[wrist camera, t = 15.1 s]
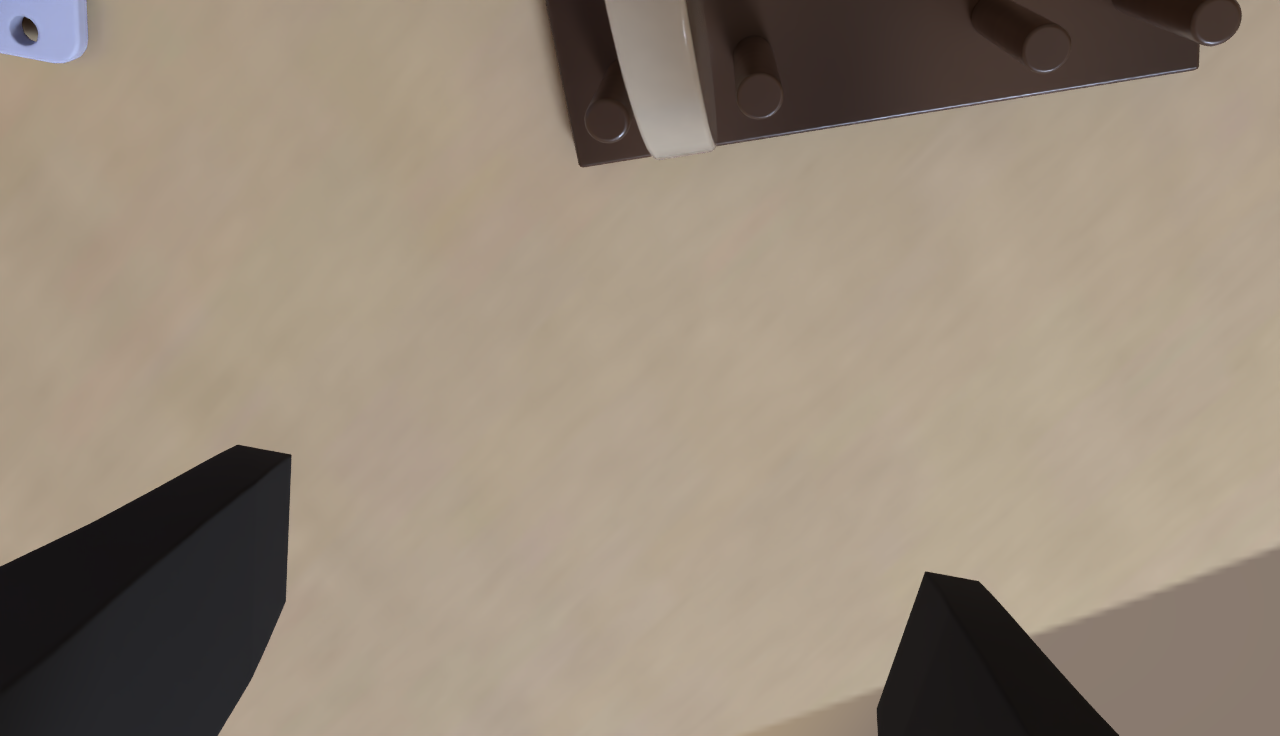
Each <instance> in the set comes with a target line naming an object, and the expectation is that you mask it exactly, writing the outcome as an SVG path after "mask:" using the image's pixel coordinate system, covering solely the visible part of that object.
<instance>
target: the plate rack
mask: <svg viewBox="0 0 1280 736" xmlns="http://www.w3.org/2000/svg"><path fill="white" fill-rule="evenodd" d="M545 1H546V6H547V11H548V16H549V21H550V26H551V31H552V35H553V40H554V45H555V50H556V55H557V60H558V65H559V70H560V75H561V80H562V85H563V89H564V94H565V99H566V104H567V109H568V114H569V119H570V124H571V129H572V134H573V139H574V143H575V148H576V153H577V158H578V163H579V165H580V167H589V166H595V165H602V164H608V163H614V162H620V161H627V160H633V159H639V158H646V157H652V156H651V154H650V153H649V151H648V149H647V148H646V146H645V144H644V142H643V139H642V137H641V135H640V132H639V129H638V127H637V124H636V121H635V118H634V115H633V112H632V108H631V105H630V102H629V98H628V95H627V91H626V88H625V84H624V80H623V76H622V73H621V69H620V65H619V61H618V57H617V53H616V49H615V44H614V40H613V36H612V32H611V28H610V23H609V19H608V14H607V10H606V5H605V1H604V0H545ZM703 1H704V9H705V17H706V25H707V33H708V41H709V50H710V59H711V68H712V77H713V86H714V97H715V108H716V121H717V145H716V146H721V145H727V144H734V143H740V142H746V141H752V140H759V139H765V138H771V137H778V136H784V135H790V134H796V133H803V132H809V131H815V130H822V129H828V128H834V127H840V126H847V125H853V124H859V123H866V122H872V121H878V120H884V119H891V118H897V117H903V116H910V115H916V114H922V113H928V112H935V111H941V110H947V109H954V108H960V107H966V106H972V105H979V104H985V103H991V102H998V101H1004V100H1010V99H1016V98H1023V97H1029V96H1035V95H1042V94H1048V93H1054V92H1060V91H1067V90H1073V89H1079V88H1086V87H1092V86H1098V85H1104V84H1111V83H1117V82H1123V81H1130V80H1136V79H1142V78H1148V77H1155V76H1161V75H1167V74H1174V73H1180V72H1186V71H1192V70H1196V69H1198V67H1199V48H1200V44H1201V45H1204V46H1215V45H1219V44H1222V43H1224V42H1225V41H1227V40H1228V39H1230V38H1231V37H1232V36H1233V35H1234V34H1235V33H1236V31H1237V30H1238V28H1239V26H1240V23H1241V17H1242V12H1241V8H1240V5H1239V3H1238V2H1237V1H1236V0H703Z"/></svg>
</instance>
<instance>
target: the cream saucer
mask: <svg viewBox="0 0 1280 736" xmlns="http://www.w3.org/2000/svg"><path fill="white" fill-rule="evenodd" d="M604 1H605V5H606V10H607V14H608V19H609V23H610V28H611V32H612V36H613V40H614V44H615V49H616V53H617V57H618V61H619V65H620V69H621V73H622V76H623V80H624V84H625V88H626V91H627V95H628V98H629V102H630V105H631V108H632V112H633V115H634V118H635V121H636V124H637V127H638V129H639V132H640V135H641V137H642V139H643V142H644V144H645V146H646V148H647V149H648V151H649V153H650V154H651V156H652V157H653V158H655V159H657V160H663V159H669V158H675V157H682V156H688V155H694V154H701V153H707V152H711V151H713V150H715V148H716V145H717V121H716V108H715V97H714V86H713V77H712V68H711V59H710V50H709V41H708V33H707V25H706V17H705V9H704V1H703V0H604Z"/></svg>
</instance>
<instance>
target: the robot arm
mask: <svg viewBox="0 0 1280 736" xmlns="http://www.w3.org/2000/svg"><path fill="white" fill-rule="evenodd" d="M24 17H27V18H29V19H31V21H32V22H33V23H34V24H35V25H36V27H37V30H38V39H37V41H36V42H35V41H33V40H31V39H29V38H28V36H27V35H26V34H25V33H24V30H23V27H22V21H23V18H24ZM87 43H88V22H87V0H0V53H3V54H8V55H14V56H19V57H24V58H29V59H35V60H40V61H45V62H51V63H66V62H69V61H72V60H74V59H76V58H78V57H80V56H82V54H83V53H84V51H85V50H86V49H87ZM290 479H291V455H290V454H285V453H280V452H274V451H269V450H263V449H258V448H252V447H247V446H242V445H236V446H234V447H232V448H230V449H228V450H226V451H224V452H222V453H220V454H218V455H216V456H214V457H212V458H210V459H209V460H207V461H205V462H203V463H201V464H199V465H198V466H196V467H194V468H192V469H190V470H189V471H187V472H185V473H183V474H181V475H180V476H178V477H176V478H174V479H172V480H170V481H169V482H167V483H165V484H163V485H161V486H160V487H158V488H156V489H154V490H152V491H150V492H149V493H147V494H145V495H143V496H141V497H139V498H137V499H136V500H134V501H132V502H130V503H128V504H126V505H124V506H122V507H121V508H119V509H117V510H115V511H113V512H111V513H109V514H107V515H106V516H104V517H102V518H100V519H98V520H96V521H94V522H92V523H90V524H88V525H86V526H84V527H82V528H80V529H78V530H76V531H74V532H72V533H70V534H68V535H65V536H63V537H61V538H59V539H57V540H55V541H53V542H51V543H49V544H47V545H45V546H43V547H40V548H38V549H36V550H34V551H32V552H30V553H28V554H26V555H24V556H22V557H20V558H17V559H15V560H13V561H11V562H9V563H7V564H5V565H3V566H0V736H218V734H219V732H220V731H221V729H222V727H223V726H224V724H225V722H226V721H227V719H228V718H229V716H230V714H231V713H232V711H233V709H234V708H235V706H236V704H237V703H238V701H239V699H240V698H241V696H242V694H243V693H244V691H245V689H246V687H247V686H248V684H249V682H250V681H251V679H252V677H253V675H254V672H255V670H256V668H257V666H258V664H259V662H260V659H261V657H262V655H263V653H264V651H265V648H266V646H267V644H268V642H269V639H270V637H271V635H272V632H273V630H274V628H275V625H276V623H277V621H278V618H279V616H280V613H281V611H282V609H283V606H284V604H285V602H286V580H287V555H288V530H289V504H290ZM877 724H878V736H1119V735H1118V734H1117V733H1116V732H1115V731H1114V730H1113V728H1112V727H1111V726H1110V725H1109V724H1108V723H1107V722H1106V721H1105V720H1104V719H1103V718H1102V717H1101V716H1100V715H1099V714H1098V713H1097V712H1096V711H1095V709H1093V707H1092V706H1091V705H1090V704H1089V703H1088V702H1087V701H1086V700H1085V699H1084V698H1083V696H1082V695H1081V694H1080V693H1079V692H1078V691H1077V690H1076V689H1075V688H1074V687H1073V685H1072V684H1071V683H1070V682H1069V681H1068V680H1067V679H1066V678H1065V677H1064V675H1063V674H1062V673H1061V672H1060V671H1059V670H1058V669H1057V668H1056V667H1055V665H1054V664H1053V663H1052V662H1051V661H1050V660H1049V659H1048V657H1047V656H1046V655H1045V654H1044V653H1043V652H1042V651H1041V649H1040V648H1039V647H1038V646H1037V645H1036V644H1035V643H1034V641H1033V640H1032V639H1031V638H1030V637H1029V636H1028V635H1027V634H1026V632H1025V631H1024V630H1023V629H1022V628H1021V627H1020V626H1019V624H1018V623H1017V622H1016V621H1015V620H1014V619H1013V618H1012V616H1011V615H1010V614H1009V613H1008V612H1007V611H1006V610H1005V609H1004V607H1003V606H1002V605H1001V604H1000V603H999V602H998V601H997V600H996V599H995V598H994V596H993V595H992V594H991V593H990V592H989V591H988V590H987V589H986V588H985V587H984V586H983V585H982V584H981V583H980V582H979V581H974V580H969V579H964V578H958V577H953V576H947V575H942V574H936V573H931V572H926V571H925V574H924V577H923V580H922V582H921V585H920V588H919V591H918V594H917V597H916V599H915V602H914V605H913V608H912V611H911V613H910V616H909V619H908V622H907V625H906V628H905V630H904V633H903V636H902V639H901V642H900V645H899V647H898V650H897V653H896V656H895V659H894V662H893V664H892V667H891V670H890V673H889V676H888V679H887V681H886V684H885V687H884V690H883V693H882V695H881V698H880V701H879V704H878V707H877Z"/></svg>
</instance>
